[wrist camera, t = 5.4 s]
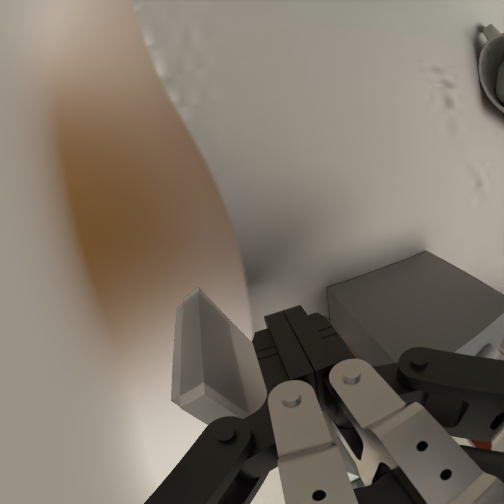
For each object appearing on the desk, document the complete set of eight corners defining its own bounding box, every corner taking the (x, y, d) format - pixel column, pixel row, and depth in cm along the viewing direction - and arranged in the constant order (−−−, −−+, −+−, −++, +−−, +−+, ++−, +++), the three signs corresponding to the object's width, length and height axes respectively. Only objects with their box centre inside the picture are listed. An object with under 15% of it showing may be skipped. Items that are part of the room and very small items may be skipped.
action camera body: (296, 297, 15) (377, 418, 7) (426, 250, 16) (525, 309, 8) (313, 423, 20) (350, 503, 12) (407, 380, 21) (457, 440, 13)
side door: (177, 301, 14) (170, 414, 7) (203, 282, 14) (213, 392, 7) (318, 424, 20) (349, 488, 13) (335, 414, 20) (369, 477, 13)
